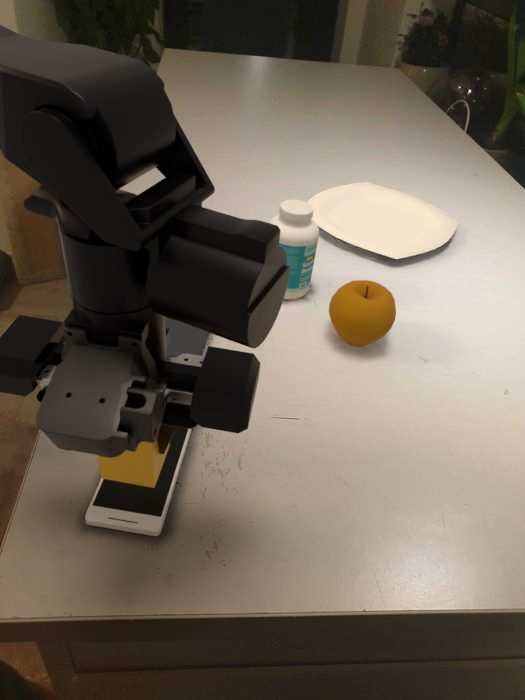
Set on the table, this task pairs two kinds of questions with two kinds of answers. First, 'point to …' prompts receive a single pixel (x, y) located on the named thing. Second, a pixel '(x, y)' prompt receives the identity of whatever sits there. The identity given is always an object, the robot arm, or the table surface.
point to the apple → (362, 312)
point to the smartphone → (139, 496)
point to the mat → (184, 339)
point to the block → (135, 465)
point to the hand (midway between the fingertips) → (134, 444)
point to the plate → (381, 220)
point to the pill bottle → (297, 244)
